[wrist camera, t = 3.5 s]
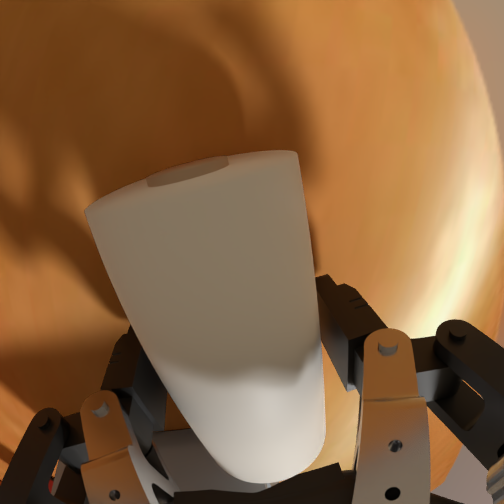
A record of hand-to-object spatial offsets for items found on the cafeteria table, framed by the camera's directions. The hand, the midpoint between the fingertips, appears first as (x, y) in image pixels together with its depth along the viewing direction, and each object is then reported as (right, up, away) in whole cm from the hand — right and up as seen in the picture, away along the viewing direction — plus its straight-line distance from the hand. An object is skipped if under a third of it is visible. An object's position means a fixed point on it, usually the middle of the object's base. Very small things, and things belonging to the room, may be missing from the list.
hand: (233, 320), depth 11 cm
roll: (0, 0, +1) cm, 1 cm away
